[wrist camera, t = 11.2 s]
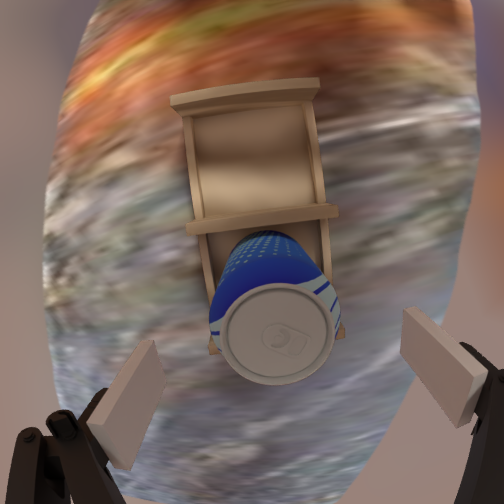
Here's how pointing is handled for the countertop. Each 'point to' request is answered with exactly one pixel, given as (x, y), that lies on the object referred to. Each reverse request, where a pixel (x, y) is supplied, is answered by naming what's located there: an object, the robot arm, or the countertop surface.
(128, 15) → the countertop surface
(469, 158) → the countertop surface
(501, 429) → the robot arm
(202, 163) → the rack
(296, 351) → the beer can
